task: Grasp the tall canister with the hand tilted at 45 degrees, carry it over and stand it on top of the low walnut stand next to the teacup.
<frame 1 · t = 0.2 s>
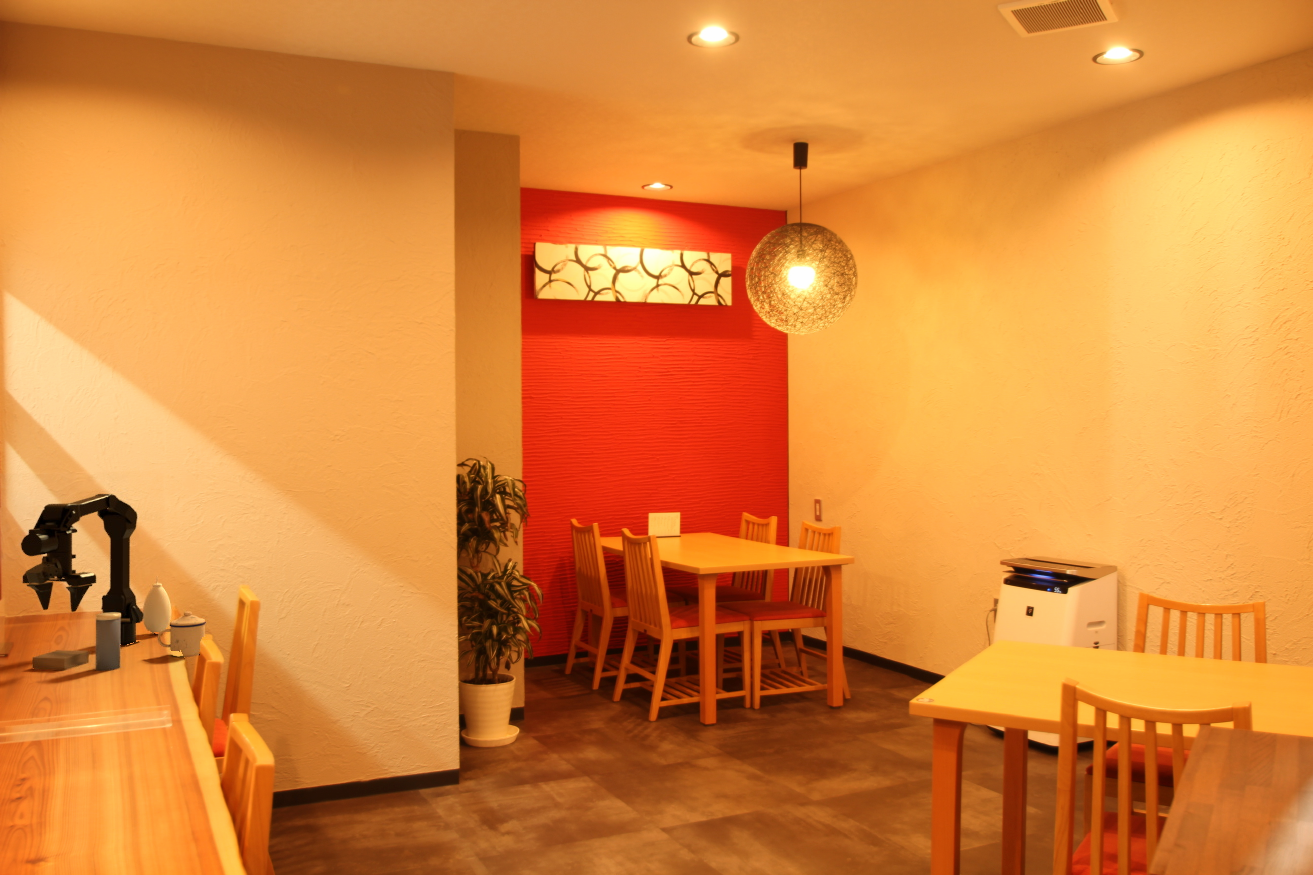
hand: (59, 610, 260), 14 cm above the counter, tool pointing down, fingers open, 9 cm apart
canister: (107, 668, 256), on the counter
sauce bottle: (156, 634, 301), on the counter
stand: (61, 665, 259), on the counter
teacup with lid: (181, 655, 273), on the counter
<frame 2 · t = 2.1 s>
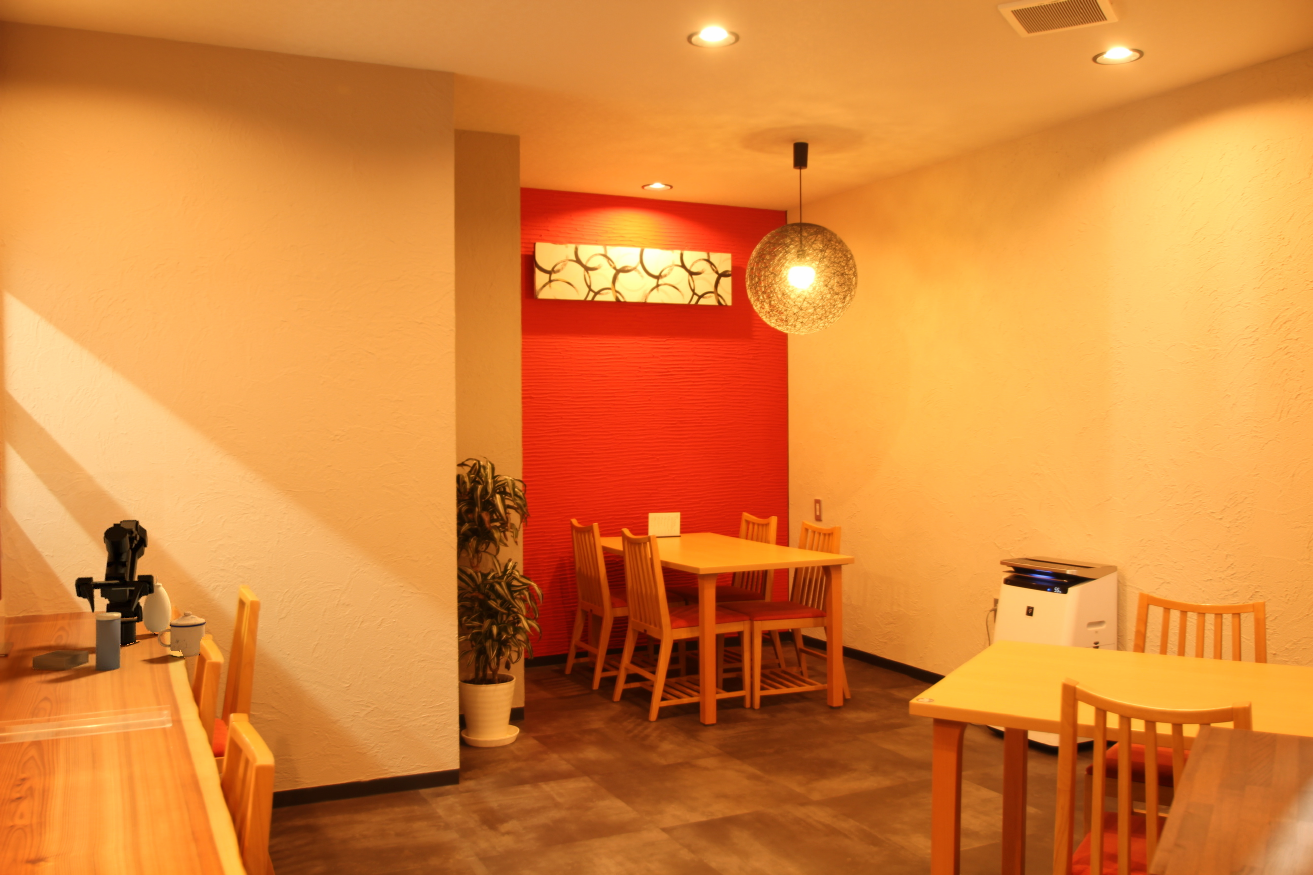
hand: (112, 610, 264), 14 cm above the counter, tool tilted 45°, fingers open, 9 cm apart
nothing on the counter moved.
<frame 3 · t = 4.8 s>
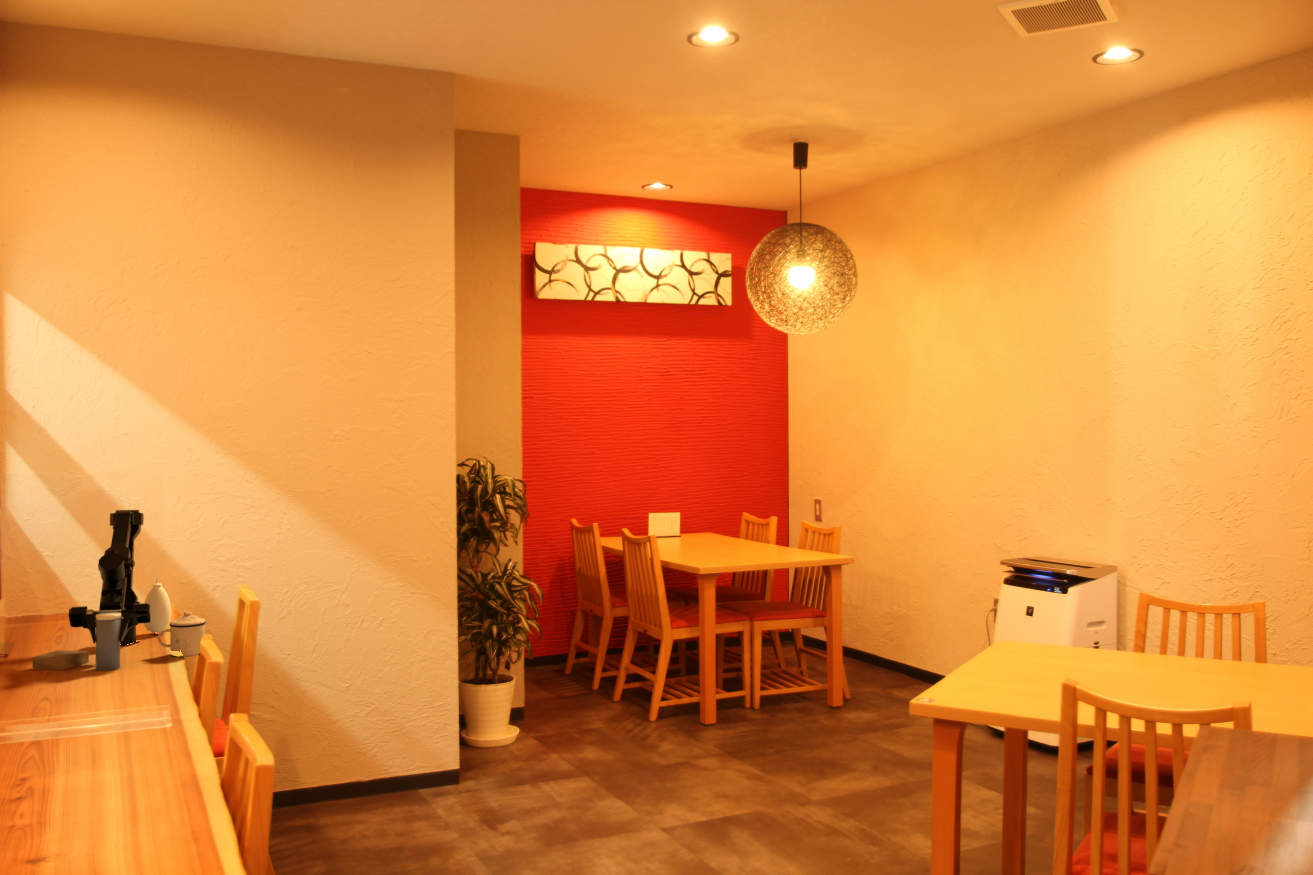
hand: (107, 641, 255), 7 cm above the counter, tool tilted 45°, fingers closed on canister, 6 cm apart
canister: (107, 668, 256), on the counter, touching gripper
everything else where it was.
when the fingers open (11 cm above the counter, at t = 7.9 s): canister drops 1 cm, resting on stand.
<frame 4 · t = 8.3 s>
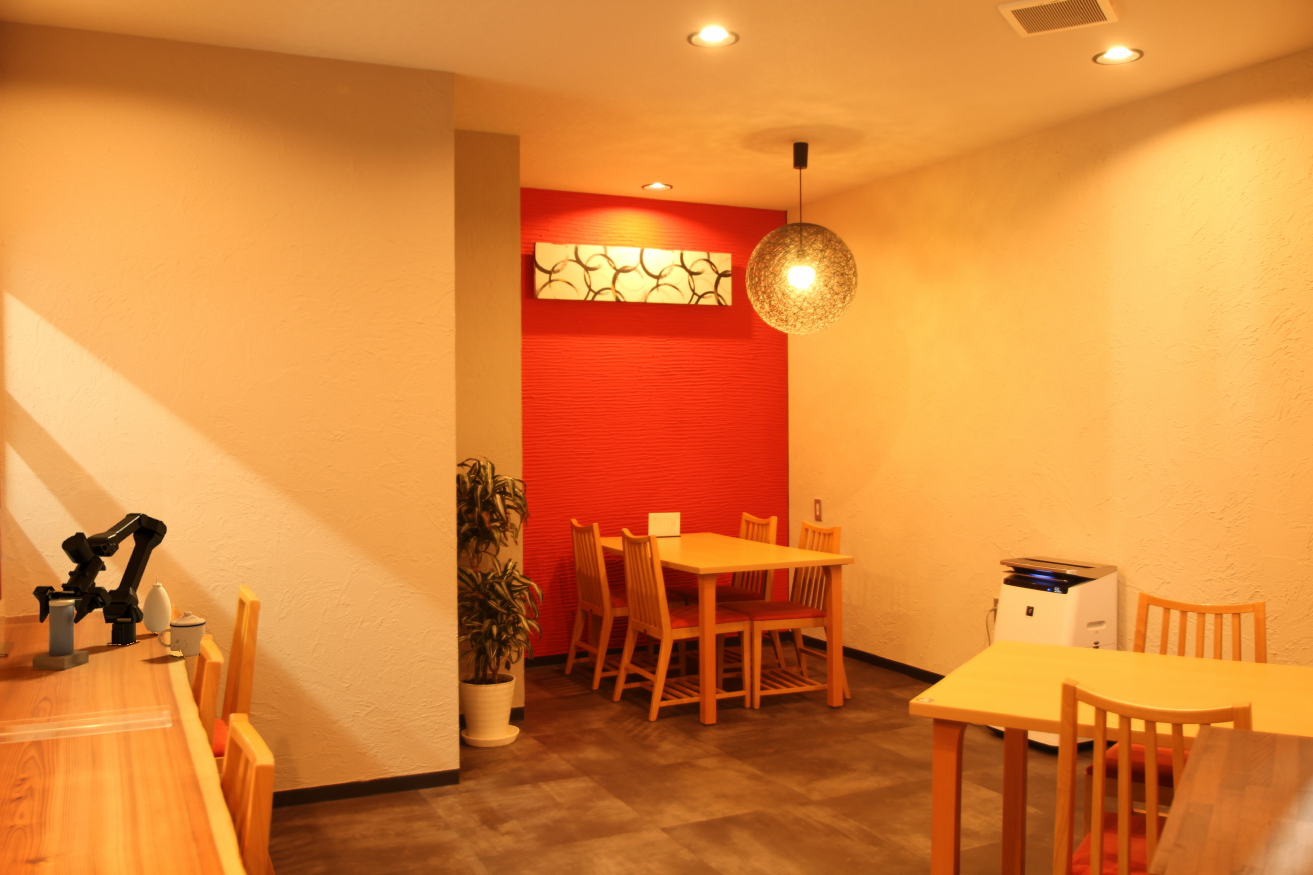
hand: (57, 622, 257), 12 cm above the counter, tool tilted 45°, fingers open, 9 cm apart
canister: (61, 653, 259), point 3 cm above the counter, touching stand
everything else where it was.
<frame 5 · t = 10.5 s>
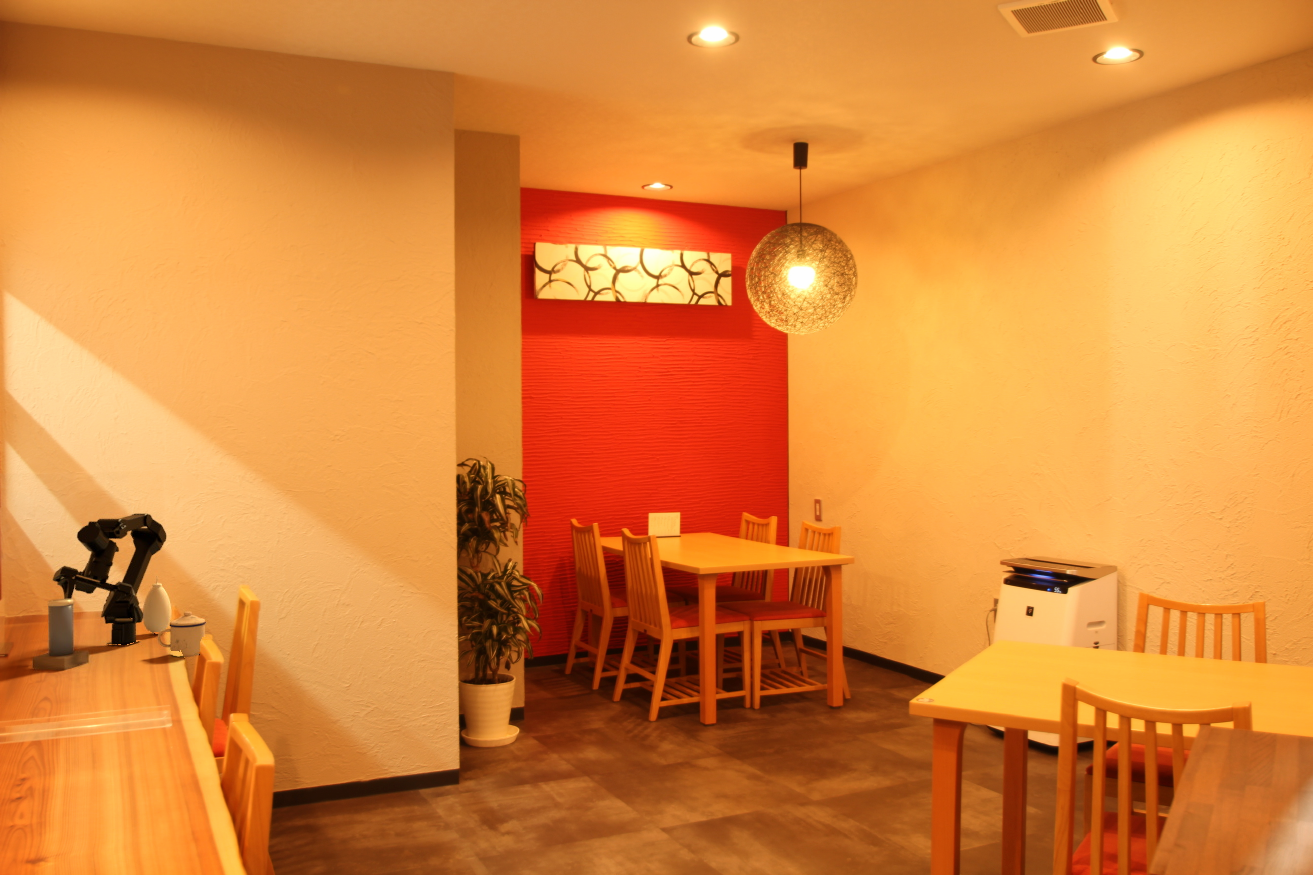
hand: (84, 612, 265), 13 cm above the counter, tool tilted 35°, fingers open, 9 cm apart
canister: (61, 653, 259), point 3 cm above the counter, touching gripper, stand
everything else where it was.
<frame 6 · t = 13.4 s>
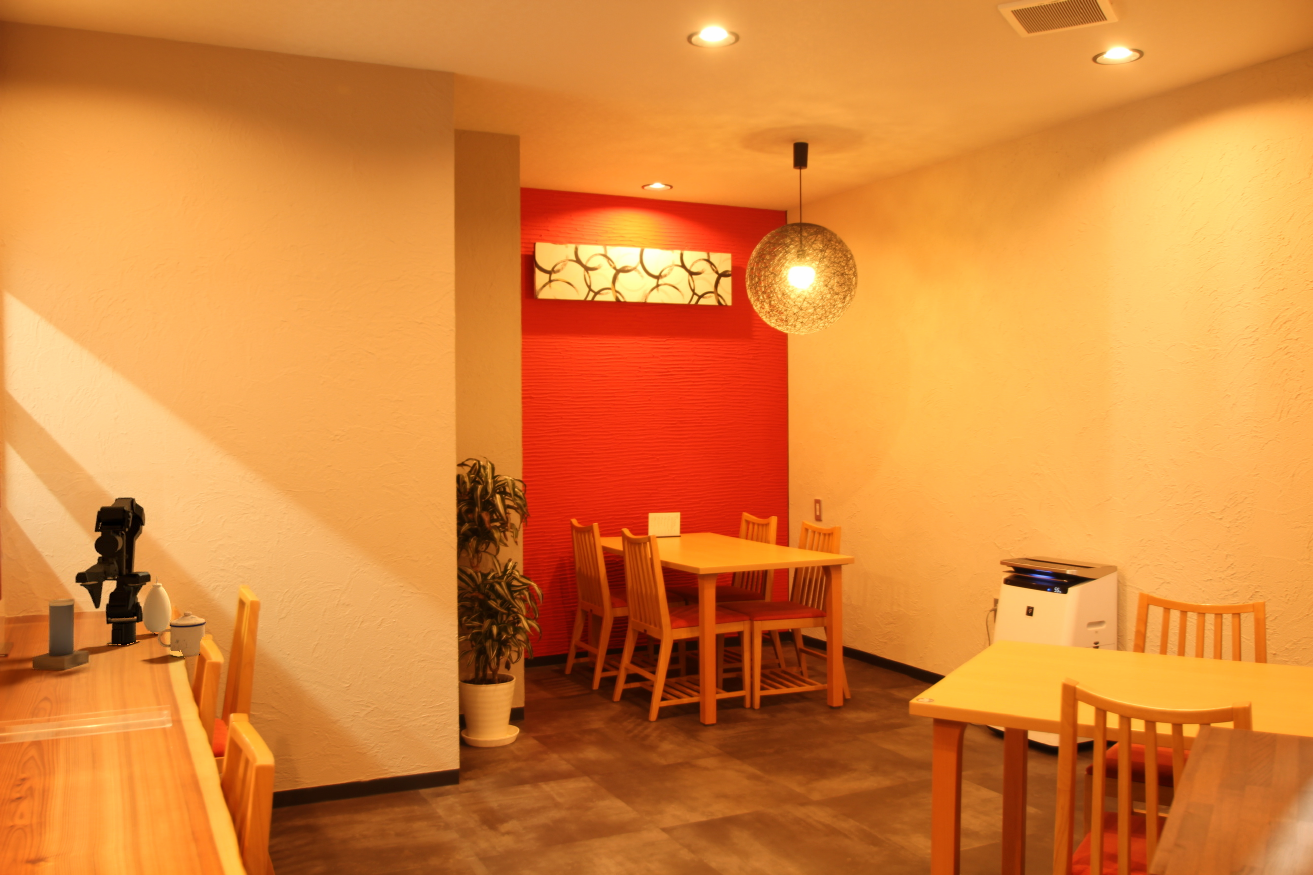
hand: (112, 608, 270), 13 cm above the counter, tool pointing down, fingers open, 9 cm apart
canister: (61, 653, 259), point 3 cm above the counter, touching stand
everything else where it was.
at the end: canister inside the target area on the stand (0.1 cm from its centre), point 3.0 cm above the stand's base; canister tilted 0°; the gripper is holding nothing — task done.
